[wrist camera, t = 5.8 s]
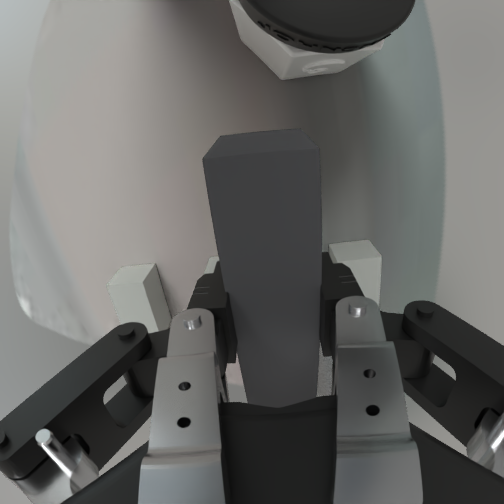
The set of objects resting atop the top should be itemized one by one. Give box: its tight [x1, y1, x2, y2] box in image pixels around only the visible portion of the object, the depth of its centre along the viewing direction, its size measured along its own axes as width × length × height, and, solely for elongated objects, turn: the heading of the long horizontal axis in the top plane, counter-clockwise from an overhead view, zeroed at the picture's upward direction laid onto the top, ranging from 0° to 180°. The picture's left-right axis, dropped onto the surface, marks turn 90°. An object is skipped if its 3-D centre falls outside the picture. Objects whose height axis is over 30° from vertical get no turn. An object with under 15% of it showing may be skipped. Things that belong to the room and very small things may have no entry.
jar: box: [229, 0, 415, 80], centre depth 14 cm, size 9×8×12 cm
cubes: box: [106, 240, 382, 333], centre depth 26 cm, size 7×22×4 cm, turn 98°
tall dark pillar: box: [202, 129, 322, 408], centre depth 13 cm, size 15×3×4 cm, turn 6°
